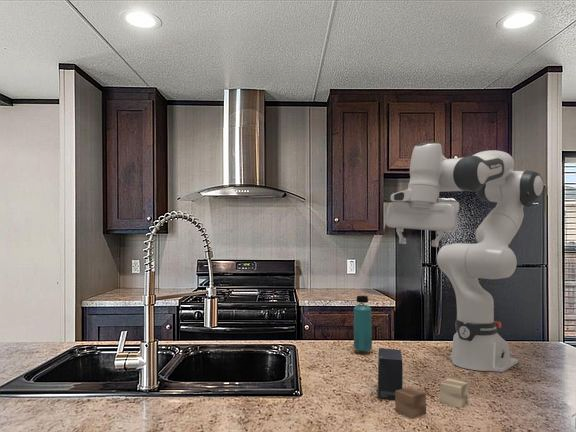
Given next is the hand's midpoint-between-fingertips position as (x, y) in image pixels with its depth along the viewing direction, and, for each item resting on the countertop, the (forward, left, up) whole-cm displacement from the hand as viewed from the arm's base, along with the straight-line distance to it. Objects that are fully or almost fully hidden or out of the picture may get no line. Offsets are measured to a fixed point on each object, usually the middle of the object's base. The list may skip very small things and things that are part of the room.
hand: (418, 245), depth 130 cm
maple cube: (+4, +15, -39) cm, 42 cm away
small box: (+12, +1, -39) cm, 41 cm away
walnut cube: (+18, +13, -39) cm, 45 cm away
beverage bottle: (-10, -32, -39) cm, 52 cm away
